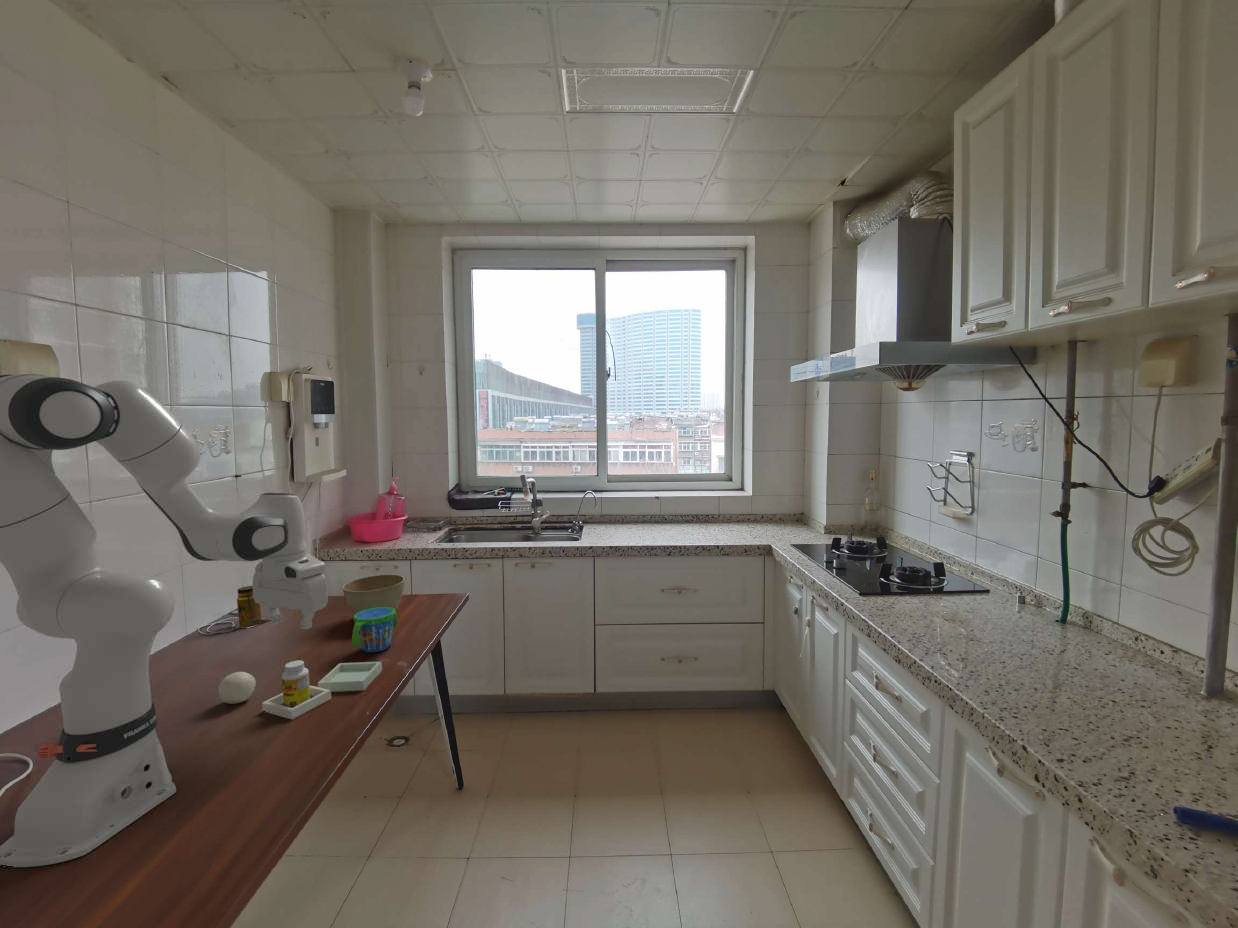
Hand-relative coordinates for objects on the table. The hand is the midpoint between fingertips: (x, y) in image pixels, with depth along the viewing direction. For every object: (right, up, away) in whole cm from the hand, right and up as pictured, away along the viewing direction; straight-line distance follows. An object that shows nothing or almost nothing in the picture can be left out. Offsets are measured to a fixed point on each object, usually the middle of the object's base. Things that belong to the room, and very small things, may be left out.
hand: (291, 625), depth 125 cm
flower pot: (-5, -14, +56) cm, 58 cm away
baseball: (-14, -19, +4) cm, 24 cm away
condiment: (-45, -16, +57) cm, 74 cm away
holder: (+1, -18, +1) cm, 18 cm away
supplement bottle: (+1, -18, +1) cm, 18 cm away
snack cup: (+5, -16, +32) cm, 36 cm away
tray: (+7, -17, +12) cm, 22 cm away
